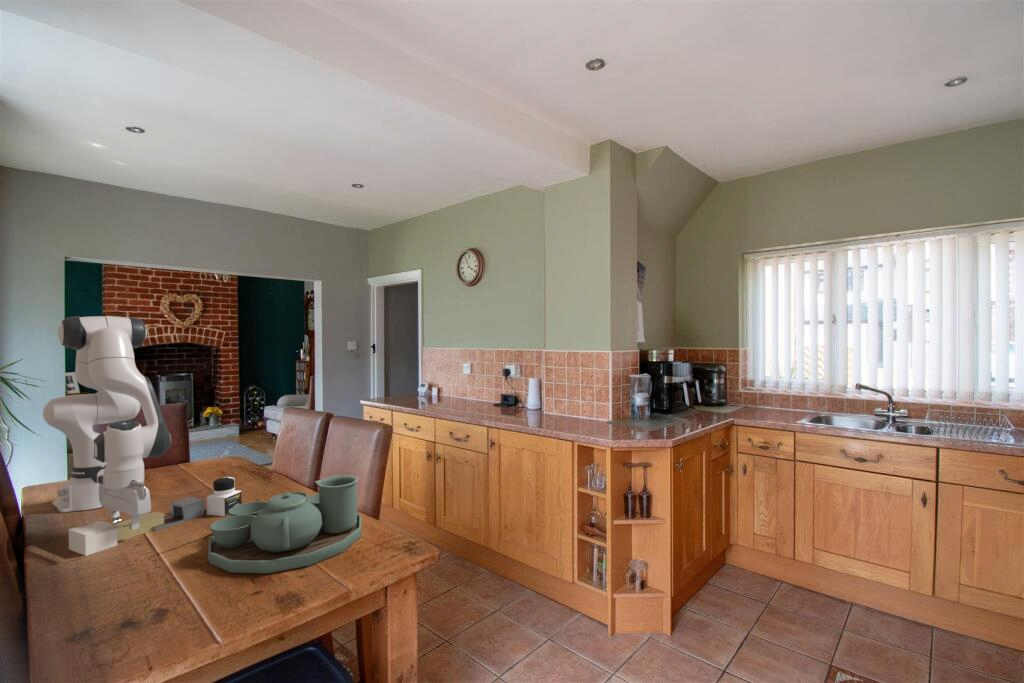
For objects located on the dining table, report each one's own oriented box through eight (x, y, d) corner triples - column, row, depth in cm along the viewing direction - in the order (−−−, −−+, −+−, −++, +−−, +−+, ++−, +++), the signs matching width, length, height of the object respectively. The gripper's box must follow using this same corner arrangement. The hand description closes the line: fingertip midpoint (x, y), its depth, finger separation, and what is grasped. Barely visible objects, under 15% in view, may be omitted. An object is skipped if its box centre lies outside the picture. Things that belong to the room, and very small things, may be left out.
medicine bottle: (225, 519, 151) (224, 482, 151) (206, 518, 153) (205, 481, 153) (242, 511, 158) (241, 475, 158) (223, 510, 160) (223, 474, 160)
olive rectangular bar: (92, 544, 130) (91, 530, 130) (156, 524, 145) (156, 511, 145) (99, 547, 128) (99, 532, 128) (164, 526, 143) (164, 513, 143)
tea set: (326, 507, 163) (326, 459, 163) (387, 541, 135) (386, 483, 135) (189, 542, 134) (189, 485, 134) (230, 595, 106) (230, 522, 106)
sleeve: (141, 530, 143) (141, 510, 143) (190, 515, 155) (190, 496, 155) (156, 535, 139) (156, 514, 139) (205, 518, 152) (205, 499, 152)
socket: (68, 553, 128) (68, 529, 128) (100, 543, 134) (100, 520, 134) (85, 559, 124) (85, 535, 124) (117, 549, 130) (117, 525, 130)
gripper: (157, 480, 134) (157, 528, 134) (119, 470, 143) (119, 516, 143) (131, 486, 128) (132, 537, 128) (93, 476, 137) (93, 523, 137)
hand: (125, 526), depth 136 cm, fingers open, 8 cm apart
